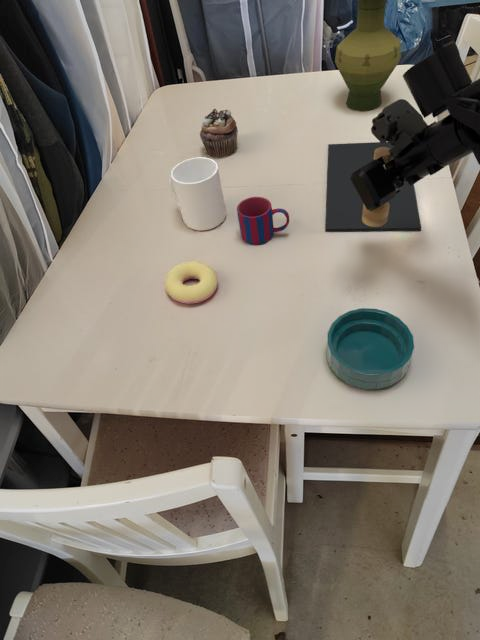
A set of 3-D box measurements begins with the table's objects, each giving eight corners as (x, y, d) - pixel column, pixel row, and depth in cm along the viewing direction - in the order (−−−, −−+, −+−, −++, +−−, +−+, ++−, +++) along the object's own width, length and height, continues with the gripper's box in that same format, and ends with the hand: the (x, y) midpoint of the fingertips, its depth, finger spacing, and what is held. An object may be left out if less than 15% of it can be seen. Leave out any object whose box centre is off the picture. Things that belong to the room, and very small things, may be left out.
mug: (220, 233, 92) (210, 184, 83) (167, 230, 95) (152, 182, 86) (231, 206, 98) (223, 157, 89) (181, 203, 101) (168, 156, 92)
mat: (405, 144, 105) (406, 140, 104) (420, 231, 85) (421, 227, 84) (328, 147, 108) (328, 144, 108) (325, 231, 88) (325, 228, 88)
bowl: (404, 327, 71) (409, 309, 68) (412, 394, 63) (418, 377, 60) (327, 325, 73) (328, 307, 70) (325, 388, 66) (326, 372, 62)
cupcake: (242, 139, 116) (237, 100, 108) (236, 159, 110) (231, 119, 102) (207, 140, 118) (199, 102, 110) (199, 160, 112) (191, 122, 104)
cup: (246, 222, 93) (243, 195, 88) (293, 227, 90) (292, 199, 85) (236, 243, 89) (232, 215, 84) (284, 249, 86) (283, 221, 81)
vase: (323, 99, 125) (325, -34, 102) (375, 84, 126) (389, -50, 103) (350, 123, 114) (359, -18, 91) (406, 107, 116) (429, -36, 93)
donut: (193, 273, 88) (158, 297, 83) (187, 253, 86) (151, 277, 81) (229, 286, 83) (195, 313, 78) (225, 265, 80) (189, 291, 75)
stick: (382, 209, 80) (392, 141, 70) (391, 224, 77) (402, 155, 67) (358, 214, 80) (364, 146, 70) (365, 229, 77) (373, 161, 67)
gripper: (460, 64, 61) (387, 119, 76) (366, 116, 56) (307, 164, 70) (495, 136, 63) (417, 176, 78) (407, 194, 57) (341, 225, 72)
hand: (372, 184), depth 74 cm, fingers closed on stick, 2 cm apart
